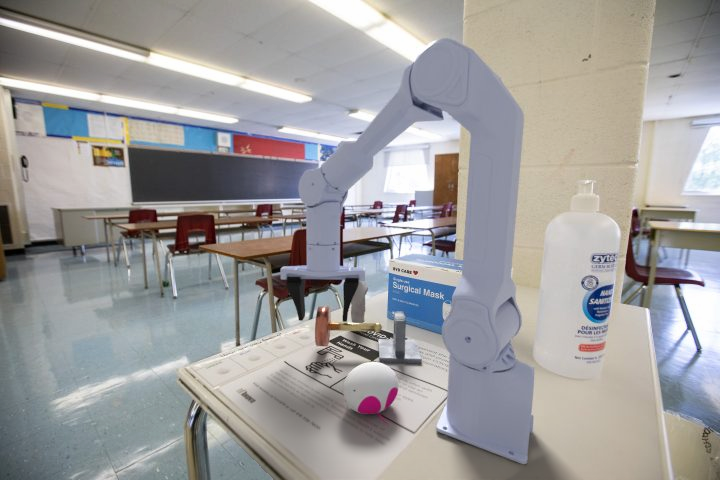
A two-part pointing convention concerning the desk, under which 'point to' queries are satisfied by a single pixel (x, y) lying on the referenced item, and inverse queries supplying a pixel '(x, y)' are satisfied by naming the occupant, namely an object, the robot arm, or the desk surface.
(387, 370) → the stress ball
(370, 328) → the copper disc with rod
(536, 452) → the desk surface
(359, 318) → the fossil
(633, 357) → the desk surface
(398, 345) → the eye post
